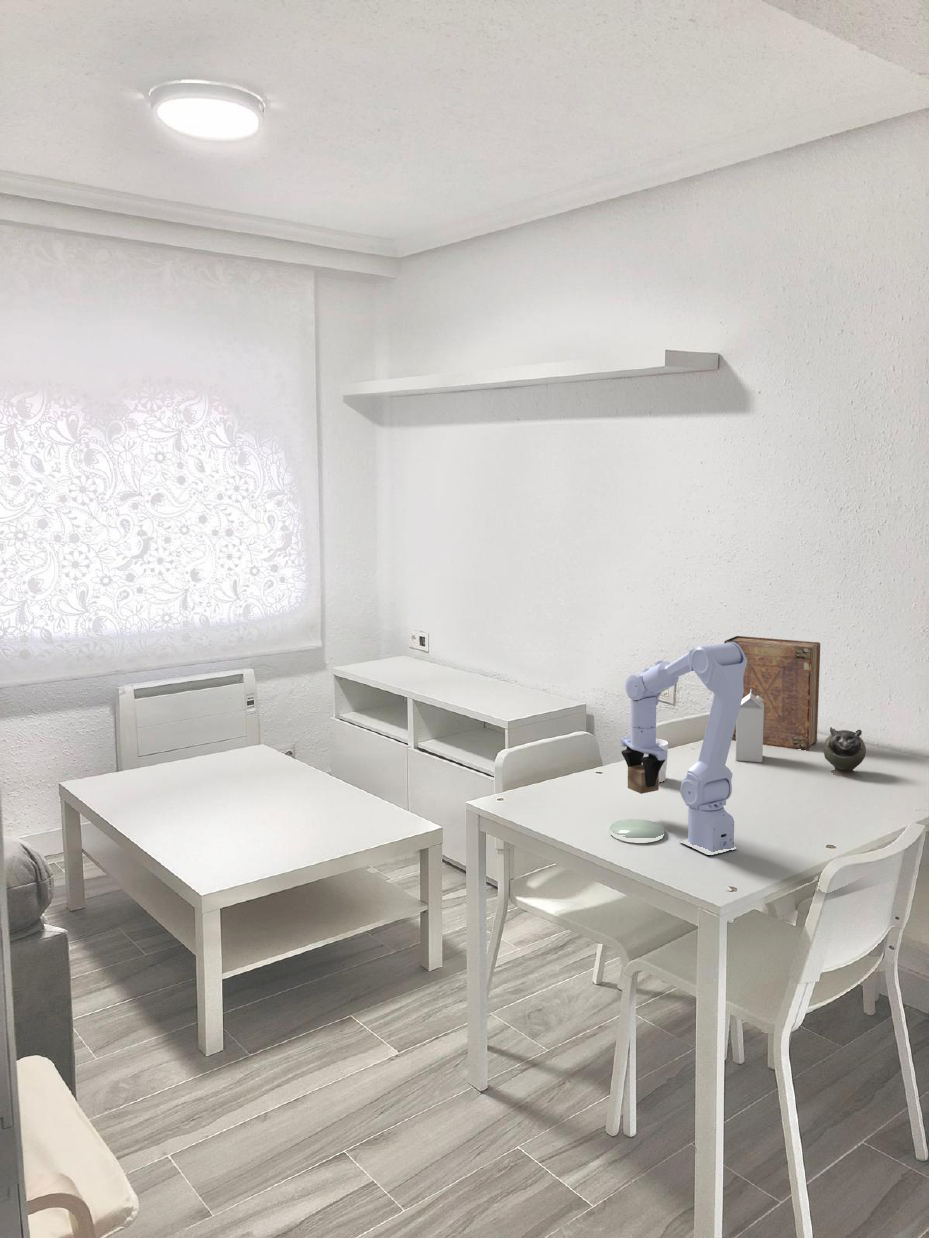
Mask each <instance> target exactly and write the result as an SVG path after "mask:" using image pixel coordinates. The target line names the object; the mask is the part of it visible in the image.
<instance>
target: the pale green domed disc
mask: <svg viewBox="0 0 929 1238" xmlns="http://www.w3.org/2000/svg"><path fill="white" fill-rule="evenodd" d="M610 830H611V831H612V832H613V833H615V834H617V835H625V836H623V837H626V838H656V837H658V836H661V835H663V834H664V832H665V831H666V830H665V827H664V826H663V825H662V824H660V823H658V822H655V821H653V820H649V819H648V820H647V819H641V818H639V819H637V818H628V819H622V820H617V821H615V822H612V823H611V824H610V825H609V831H610Z"/></svg>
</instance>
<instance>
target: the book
mask: <svg viewBox="0 0 929 1238" xmlns="http://www.w3.org/2000/svg"><path fill="white" fill-rule="evenodd" d="M728 642H735V643H737V644H738V645H739V646H740V647H741V649H742V651H743V653H744V655H745V657H746V659H747V664H746V668H745V672H744V676H743V688H744V692H743V697H742V699H743V698H744V697H745V696H747V695H748V694H749V693H750V690H751V693H752V694H753V695H754V696H755V697H756V696H759V697H761V698H762V699H763V702H762V703H763V704H764V721H763V746H765V745H766V746H772V747H777V748H778V747H780V748H784V749H792V750H798V749H801V750H800V751H804V750H806V752H809V750H810V746H812V745H814V744H815V745H816V744H817V743H818V723H819V701H820V700H819V699H820V696H819V694H820V692H819V691H820V669H821V667H820V666H821V643H820V642H818V641H807V640H793V639H782V638H781V639H780V638H768V637H767V638H766V637H754V636H745V635H743V636H742V635H741V636H740V635H736V636H734V637H730V638H729V639H726V640H724V643H723V644H725V643H728ZM732 740H733V741H736V725H735V729H734V733H733V737H732ZM813 743H814V744H813Z"/></svg>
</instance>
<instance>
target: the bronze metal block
mask: <svg viewBox="0 0 929 1238" xmlns="http://www.w3.org/2000/svg"><path fill="white" fill-rule="evenodd" d="M659 785H660V784H659V774H658V777H657V781H656V784H655V786H653V787H646V782H645V771H644V766H643V764H642V765H636V766H631V767H628V766H627V789H629V790H631V791H633V792H636V793H639V794H647V793H651V792H652V793H653V792H657V791H659Z"/></svg>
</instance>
